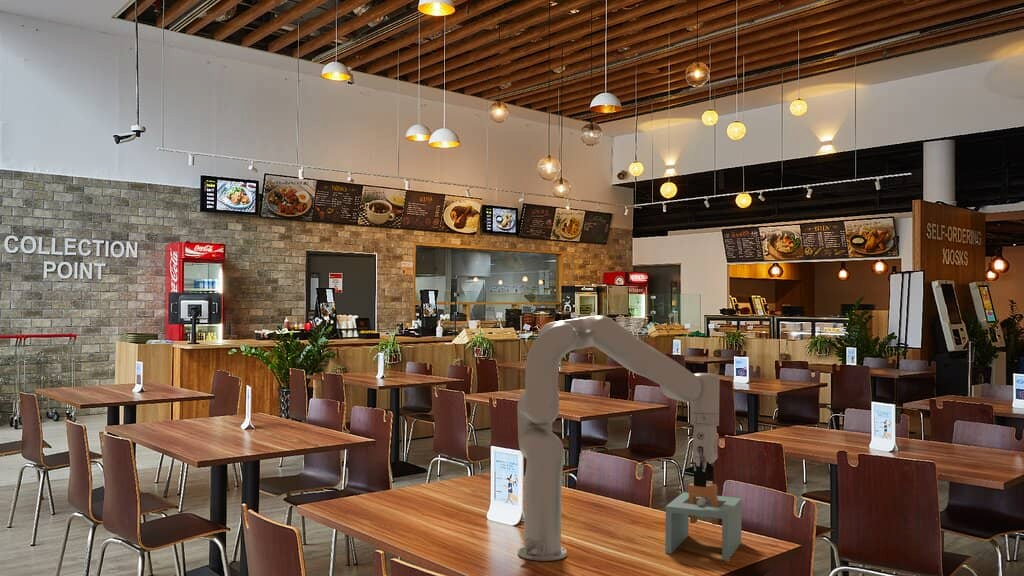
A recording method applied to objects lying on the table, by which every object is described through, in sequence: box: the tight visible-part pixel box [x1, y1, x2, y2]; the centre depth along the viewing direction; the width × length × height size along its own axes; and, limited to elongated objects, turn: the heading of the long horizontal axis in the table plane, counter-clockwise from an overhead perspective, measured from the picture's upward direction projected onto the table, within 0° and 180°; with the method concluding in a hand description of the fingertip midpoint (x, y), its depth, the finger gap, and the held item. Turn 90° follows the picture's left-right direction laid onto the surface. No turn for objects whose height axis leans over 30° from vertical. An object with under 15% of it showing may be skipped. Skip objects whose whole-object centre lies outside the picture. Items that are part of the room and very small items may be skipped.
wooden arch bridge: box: [687, 482, 720, 526], centre depth 214 cm, size 7×3×10 cm, turn 64°
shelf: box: [664, 491, 742, 562], centre depth 214 cm, size 20×16×14 cm
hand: (703, 483), depth 214 cm, fingers open, 9 cm apart
